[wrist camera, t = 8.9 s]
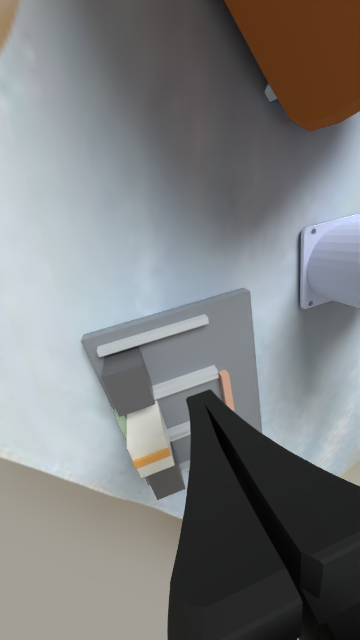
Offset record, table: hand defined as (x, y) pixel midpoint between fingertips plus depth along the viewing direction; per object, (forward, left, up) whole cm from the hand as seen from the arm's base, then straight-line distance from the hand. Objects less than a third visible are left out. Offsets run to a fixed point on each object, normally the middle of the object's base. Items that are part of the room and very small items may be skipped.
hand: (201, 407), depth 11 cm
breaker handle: (+4, +8, -8) cm, 12 cm away
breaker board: (-1, +8, -10) cm, 13 cm away
